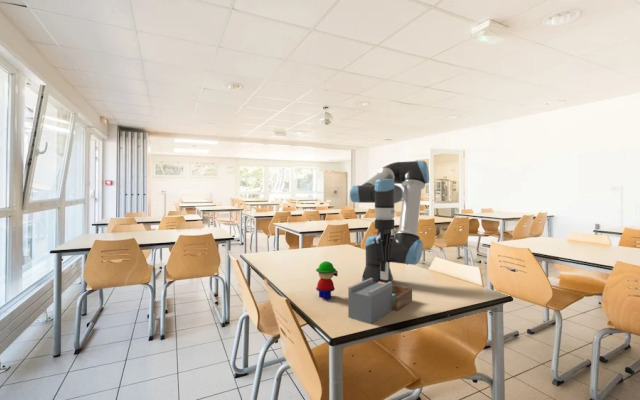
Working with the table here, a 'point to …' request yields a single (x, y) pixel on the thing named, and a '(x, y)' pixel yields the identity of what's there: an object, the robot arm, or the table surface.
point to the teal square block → (393, 298)
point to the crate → (401, 297)
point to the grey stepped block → (369, 300)
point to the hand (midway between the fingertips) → (384, 279)
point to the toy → (326, 279)
